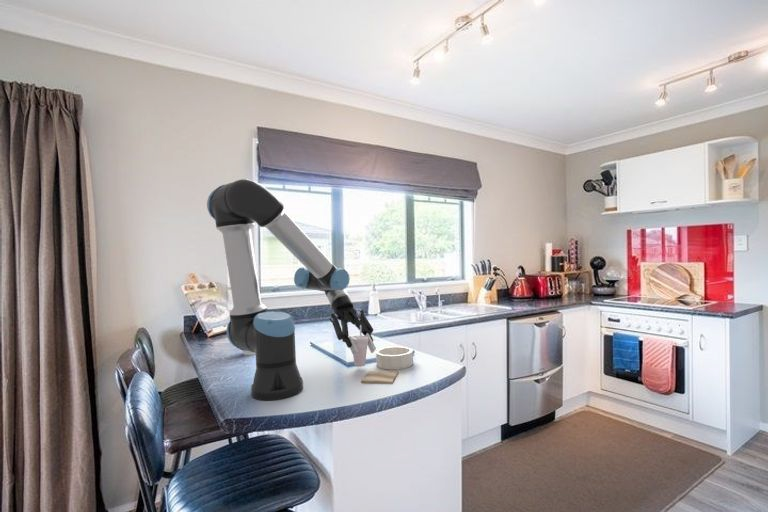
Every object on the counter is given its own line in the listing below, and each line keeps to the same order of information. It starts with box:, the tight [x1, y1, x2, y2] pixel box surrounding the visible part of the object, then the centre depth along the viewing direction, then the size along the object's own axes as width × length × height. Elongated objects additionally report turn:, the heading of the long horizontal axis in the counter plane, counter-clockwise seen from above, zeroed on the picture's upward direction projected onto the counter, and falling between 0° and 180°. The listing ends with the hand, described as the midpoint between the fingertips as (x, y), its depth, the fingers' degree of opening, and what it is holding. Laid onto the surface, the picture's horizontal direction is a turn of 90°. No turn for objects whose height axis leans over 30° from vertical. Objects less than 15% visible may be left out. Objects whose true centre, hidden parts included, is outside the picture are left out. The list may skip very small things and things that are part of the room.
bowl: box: [375, 345, 414, 371], centre depth 137 cm, size 13×13×5 cm
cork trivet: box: [360, 370, 399, 385], centre depth 123 cm, size 10×10×1 cm
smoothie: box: [351, 325, 369, 368], centre depth 133 cm, size 6×6×14 cm
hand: (365, 352), depth 131 cm, fingers closed on smoothie, 6 cm apart
